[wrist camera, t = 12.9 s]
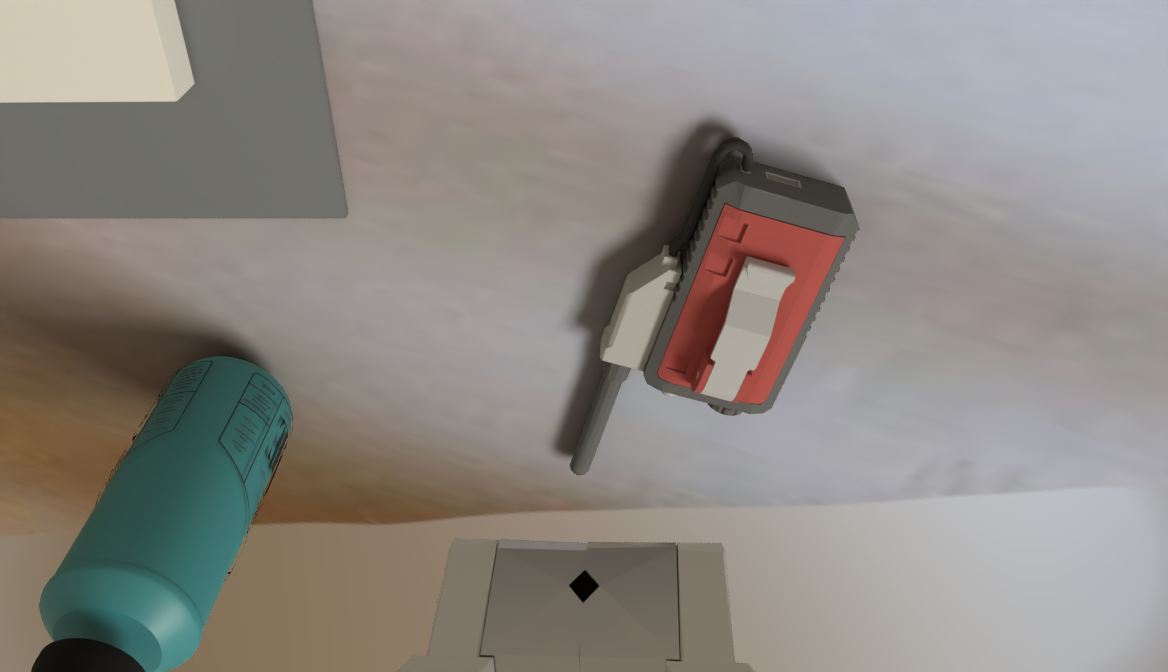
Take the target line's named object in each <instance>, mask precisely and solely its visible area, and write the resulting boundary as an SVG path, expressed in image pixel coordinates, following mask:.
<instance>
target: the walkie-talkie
mask: <svg viewBox="0 0 1168 672" xmlns="http://www.w3.org/2000/svg"><path fill="white" fill-rule="evenodd" d="M731 150H738V151H739V152H741V153H743V159H742V158H738V157H735V156H732V157H730V158H728V159H726V160H724V161H722V160H723V158H724V157H725V155H726V154H727V153H728V152H730V151H731ZM858 230H860V228H859V226H858V223H857V220H856V217H855V214H854V211H853V208H852V205H851V203H850V200H849V198H848V196H847V193H846V191H845V188H843V187H839V186H836V185H832V184H829V183H825V182H822V181H818V180H815V179H811V178H808V177H804V176H801V175H797V174H794V173H791V172H787V171H784V170H780V169H777V168H773V167H770V166H766V165H763V164H759V163H756V162H753V153H752V149H751V147H750V145H749V144H748V143H747V142H745V141H743V140H742V139H740V138H738V137H731V138H728V139H726V140H724V141H722V143H721V144H720V145H719V146H718V148H717V149H716V150H715V151H714V153H713V156H712V159H711V161H710V164H709V167H708V169H707V172H706V174H705V177H704V180H703V182H702V185H701V187H700V190H699V193H698V195H697V198H696V201H695V203H694V206H693V208H692V211H691V213H690V216H689V218H688V221H687V223H686V225H685V228H684V230H683V231H682V233H681V234H680V235H679V236H678V237H676V238H675V239H674V240H673V242H672V243H671V244H670V246H668V245H665V244H664V247H663V250H662V252H661V253H660V254H659V255H657V256H656V257H654V258H652V259H651V260H649V261H648V262H646V263H644V264H643V265H641V266H640V267H638V268H636V269H635V270H633V271H631V272H630V273H629V274H628V275H627V277H626V280H625V282H624V285H623V288H622V291H621V293H620V296H619V299H618V301H617V304H616V307H615V310H614V312H613V315H612V318H611V321H610V323H609V325H608V326H606V327H605V328H604V331H603V334H602V338H601V345H600V359H601V360H602V361H605V362H604V365H603V367H602V373H603V376H602V378H601V381H600V384H599V387H598V389H597V392H596V395H595V398H594V400H593V403H592V406H591V409H590V411H589V414H588V417H587V419H586V422H585V425H584V428H583V430H582V433H581V436H580V439H579V441H578V444H577V447H576V450H575V452H574V455H573V458H572V461H571V463H570V468H571V470H572V472H573V473H574V474H576V475H584V474H586V473H587V472H588V471H589V468H590V465H591V463H592V460H593V458H594V455H595V452H596V450H597V447H598V444H599V442H600V439H601V436H602V434H603V431H604V428H605V426H606V423H607V421H608V418H609V415H610V413H611V410H612V407H613V405H614V402H615V399H616V397H617V394H618V391H619V389H620V386H621V384H622V382H623V381H625V380H626V379H627V377H628V374H629V372H630V369H631V368H633V369H637V370H640V371H644V377H645V380H646V382H647V384H649V385H650V386H652V387H654V388H656V389H658V390H660V391H661V392H662V393H663V394H665V395H667V396H675V395H678V396H682V397H686V398H690V399H694V400H698V401H702V402H706V403H708V405H709V406H710V407H711V408H712V409H714V410H716V411H717V412H719V413H721V414H724V415H731V416H734V415H738V414H741V412H745V413H748V414H758V413H764V412H766V411H767V410H769V409H771V408H772V406H773V404H774V402H775V400H776V398H777V396H778V394H779V392H780V390H781V388H782V386H783V384H784V382H785V380H786V378H787V376H788V374H789V372H790V370H791V368H792V365H793V363H794V361H795V359H796V357H797V355H798V353H799V351H800V349H801V347H802V345H803V343H804V341H805V339H806V333H807V331H810V329H811V326H810V325H811V323H812V322H813V321H815V319H816V318H815V315H816V313H817V312H819V311H820V305H821V303H822V302H824V300H825V295H826V293H827V292H829V290H830V287H829V286H830V284H831V283H832V282H834V280H835V278H834V276H835V274H836V272H839V270H840V267H839V266H840V264H841V262H844V260H845V257H844V256H845V254H846V252H848V251H849V250H850V244H851V242H852V241H854V240H855V234H856V232H857V231H858ZM682 247H683V248H682ZM681 248H682V256H681V254H680V252H679V250H680V249H681Z"/></svg>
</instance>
